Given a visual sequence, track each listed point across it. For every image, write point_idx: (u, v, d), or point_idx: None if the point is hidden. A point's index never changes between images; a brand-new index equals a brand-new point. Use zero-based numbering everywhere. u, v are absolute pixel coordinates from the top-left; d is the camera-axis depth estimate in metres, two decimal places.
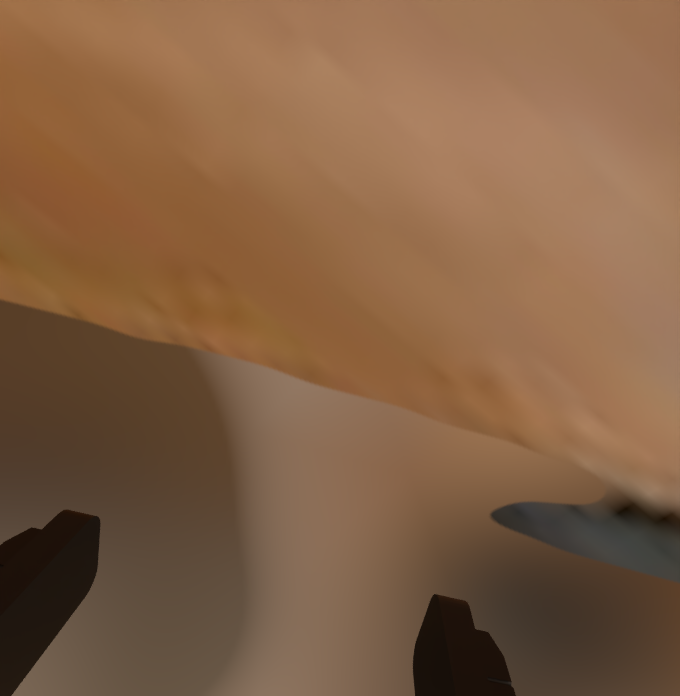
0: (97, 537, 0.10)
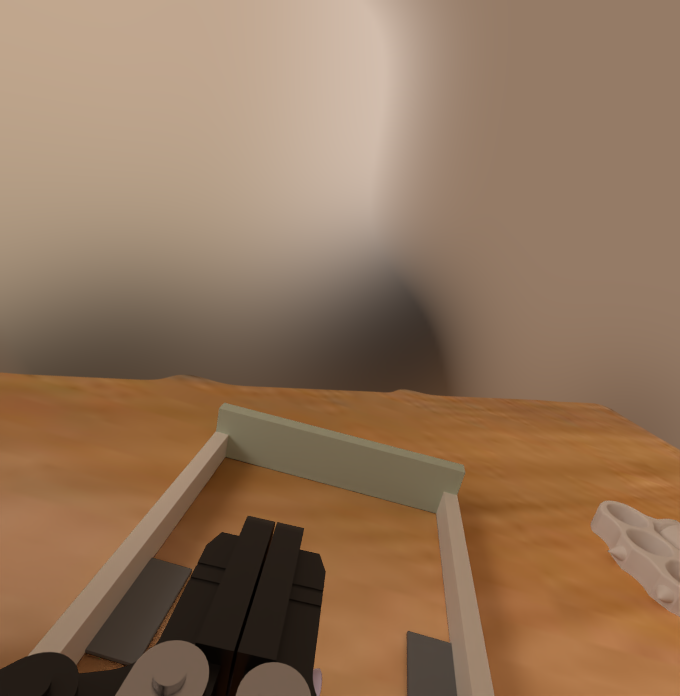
0: (271, 541, 0.11)
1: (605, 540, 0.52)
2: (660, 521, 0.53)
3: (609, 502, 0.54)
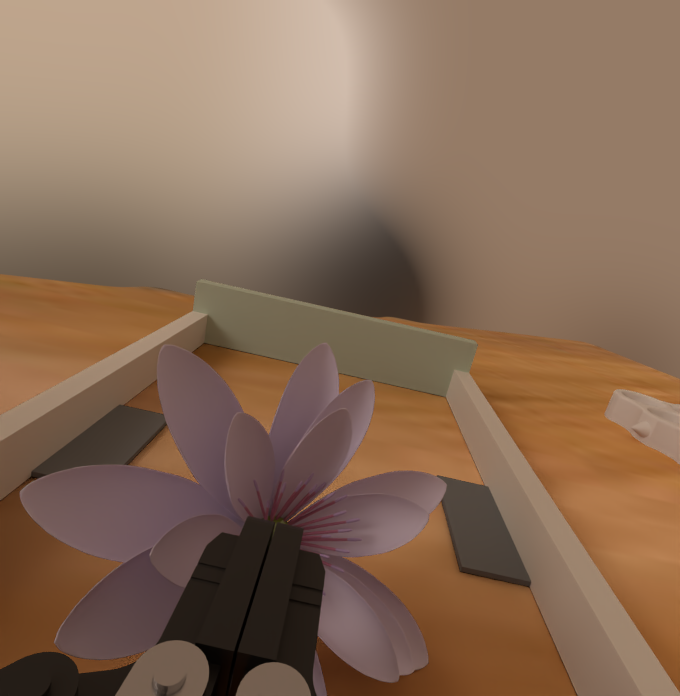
0: (271, 541, 0.11)
1: (623, 424, 0.48)
2: (676, 405, 0.50)
3: (623, 390, 0.51)
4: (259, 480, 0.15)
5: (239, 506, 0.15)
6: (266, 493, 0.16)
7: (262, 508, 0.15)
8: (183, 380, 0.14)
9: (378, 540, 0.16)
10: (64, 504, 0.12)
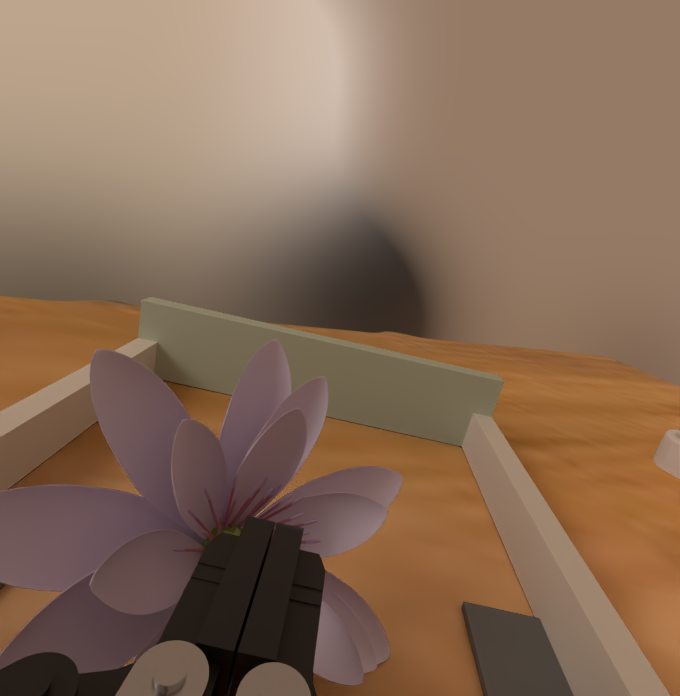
0: (271, 541, 0.11)
1: None
2: None
3: (675, 431, 0.41)
4: (210, 489, 0.14)
5: (189, 517, 0.14)
6: (218, 500, 0.15)
7: (214, 517, 0.14)
8: (121, 386, 0.13)
9: (337, 540, 0.15)
10: None
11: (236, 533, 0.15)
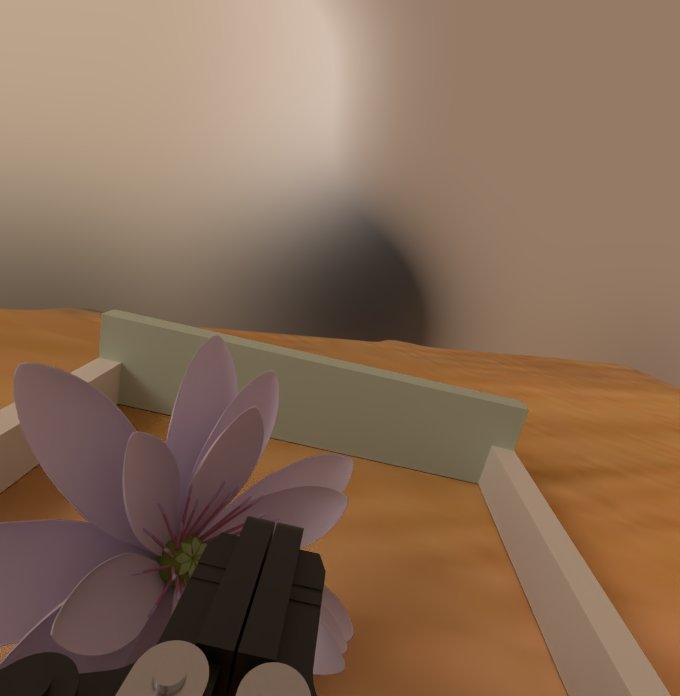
0: (271, 541, 0.11)
1: None
2: None
3: None
4: (162, 501, 0.13)
5: (143, 535, 0.13)
6: (171, 512, 0.14)
7: (170, 531, 0.13)
8: (52, 403, 0.11)
9: None
10: None
11: (194, 543, 0.14)
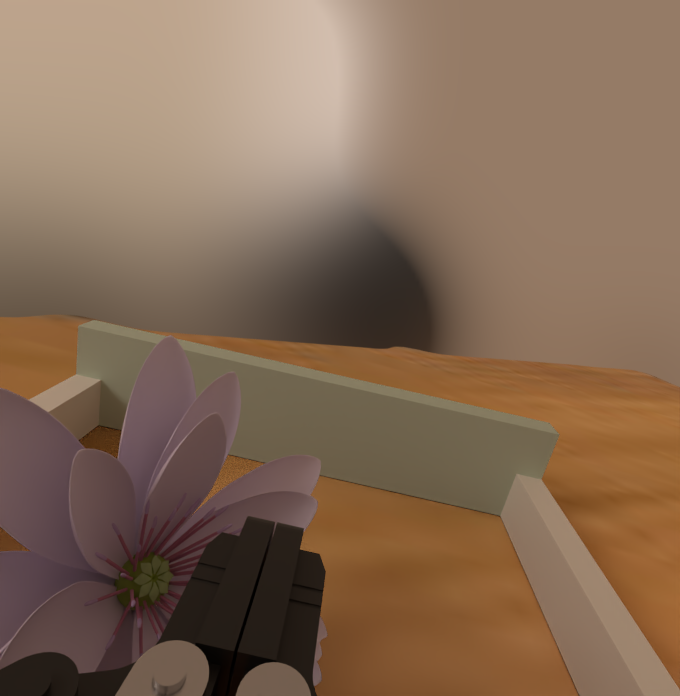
0: (271, 541, 0.11)
1: None
2: None
3: None
4: (116, 520, 0.12)
5: (96, 559, 0.12)
6: (127, 531, 0.13)
7: (127, 551, 0.12)
8: None
9: None
10: None
11: (155, 562, 0.13)
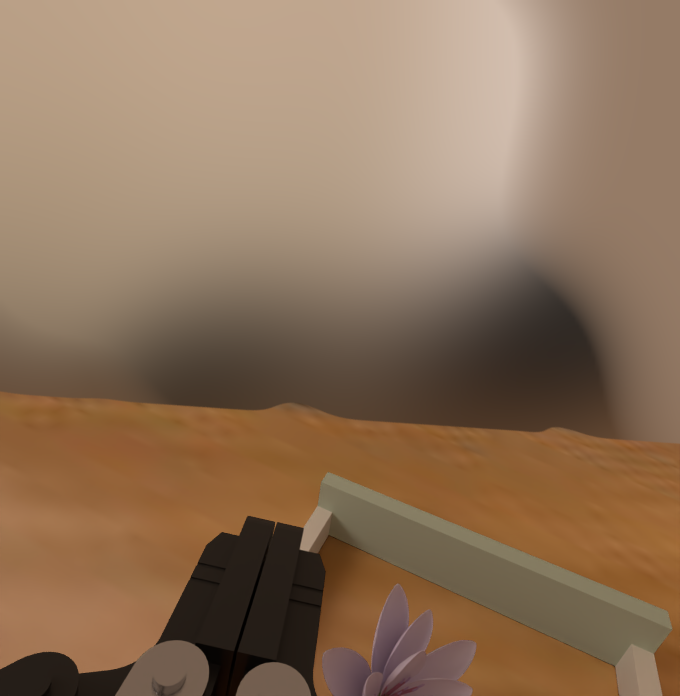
0: (271, 541, 0.11)
1: None
2: None
3: None
4: (373, 684, 0.26)
5: None
6: (377, 687, 0.26)
7: None
8: (331, 658, 0.24)
9: None
10: None
11: None
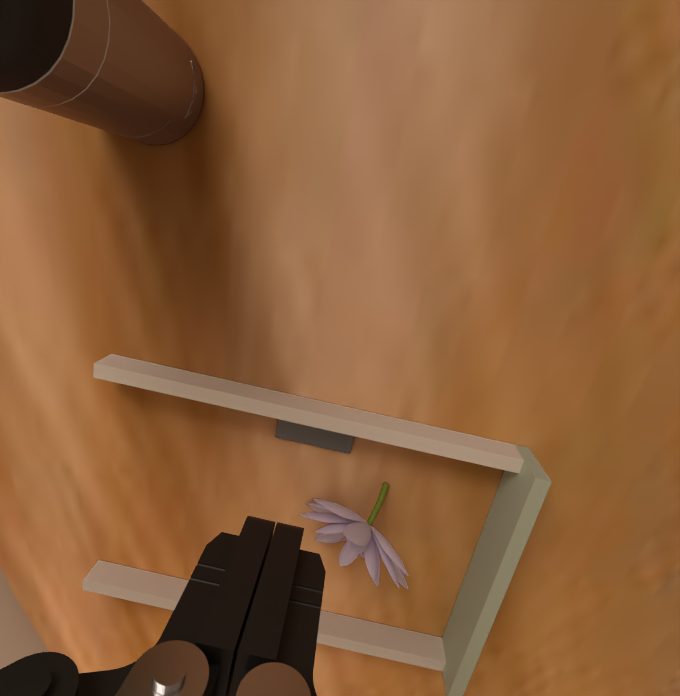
0: (271, 541, 0.11)
1: None
2: None
3: None
4: None
5: None
6: None
7: None
8: None
9: None
10: (322, 499, 0.41)
11: None
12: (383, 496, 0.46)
